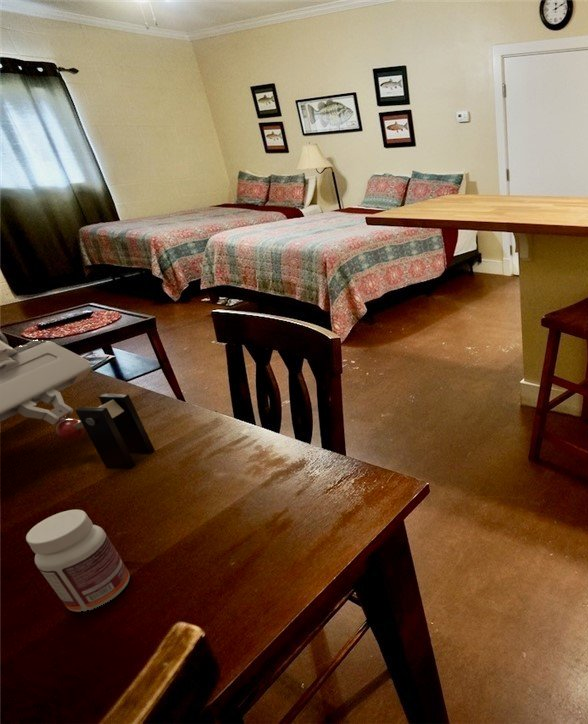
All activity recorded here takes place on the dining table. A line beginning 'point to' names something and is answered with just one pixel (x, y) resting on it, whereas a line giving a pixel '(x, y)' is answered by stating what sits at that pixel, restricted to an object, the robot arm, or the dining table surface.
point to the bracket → (116, 432)
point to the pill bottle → (77, 560)
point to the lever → (75, 428)
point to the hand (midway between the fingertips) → (64, 417)
